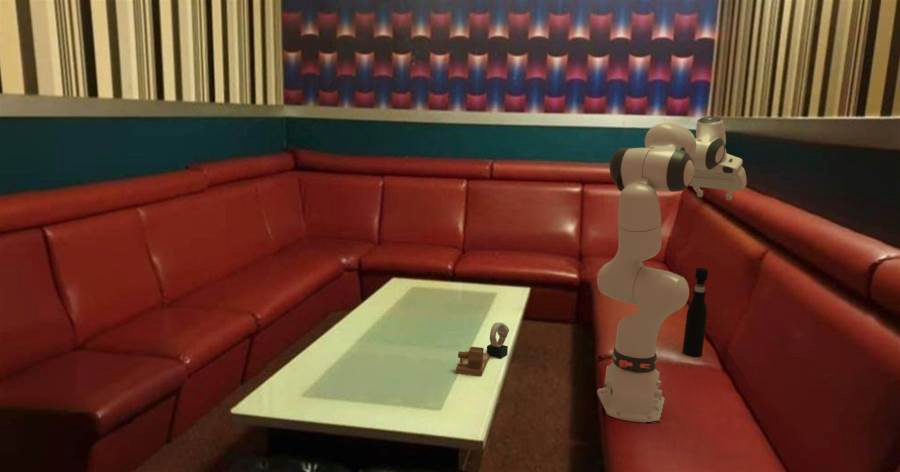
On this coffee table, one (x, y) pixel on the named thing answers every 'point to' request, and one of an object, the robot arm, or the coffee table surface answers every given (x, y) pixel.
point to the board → (463, 368)
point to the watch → (496, 347)
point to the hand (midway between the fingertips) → (714, 197)
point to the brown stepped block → (473, 357)
